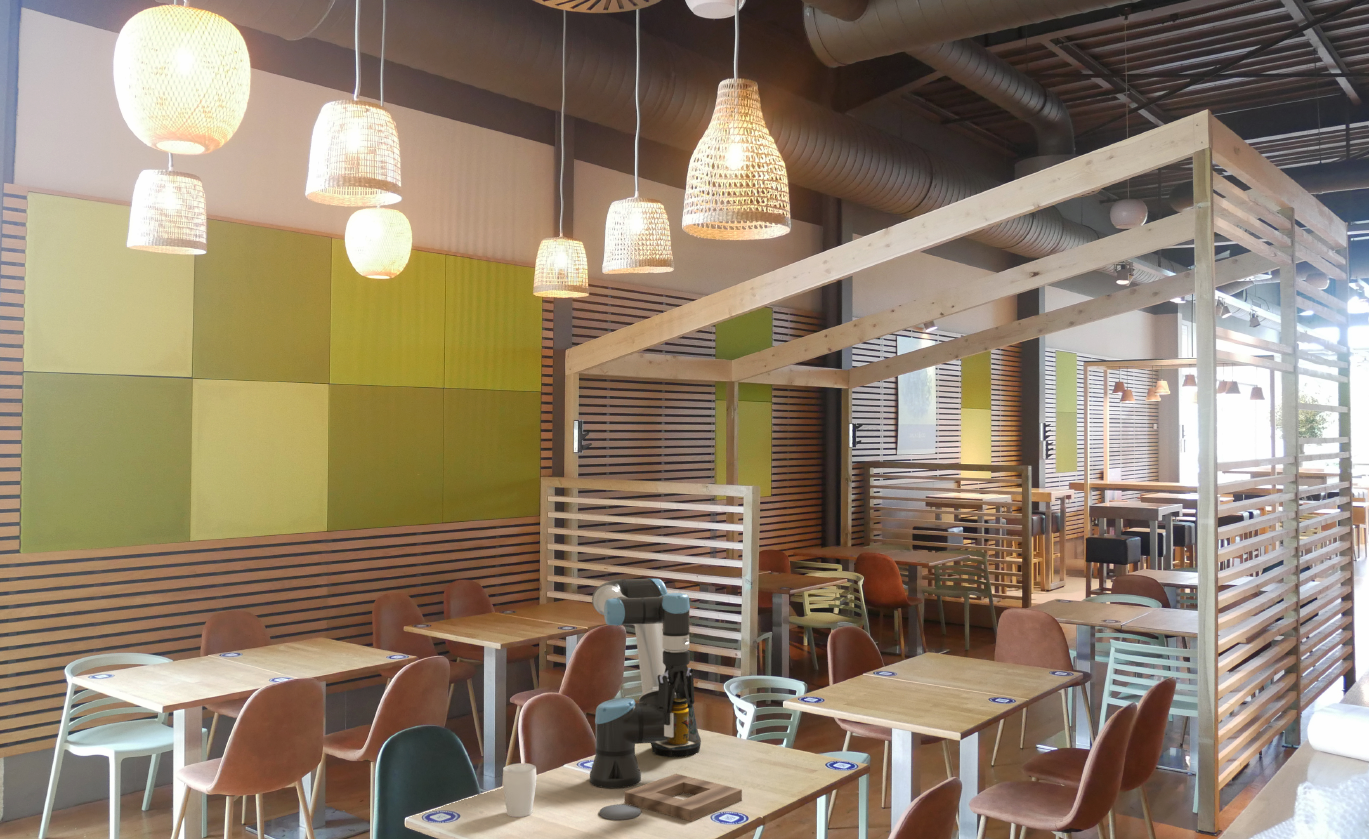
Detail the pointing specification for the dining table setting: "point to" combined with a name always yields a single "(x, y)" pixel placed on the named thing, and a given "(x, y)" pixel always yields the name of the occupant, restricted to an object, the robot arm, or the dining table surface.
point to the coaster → (620, 812)
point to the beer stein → (682, 750)
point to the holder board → (692, 808)
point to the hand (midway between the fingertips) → (676, 733)
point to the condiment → (679, 725)
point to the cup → (519, 788)
